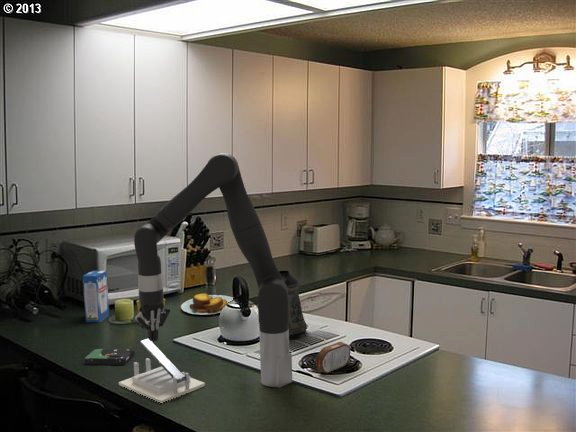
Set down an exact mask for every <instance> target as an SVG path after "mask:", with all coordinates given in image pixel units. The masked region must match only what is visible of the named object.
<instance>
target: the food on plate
mask: <svg viewBox="0 0 576 432" xmlns="http://www.w3.org/2000/svg"><path fill="white" fill-rule="evenodd" d="M192 297H193V298H190V299H188V300H186V301H184V302H183V303H181V305H180V309H181V310H182V311H183V312H185V313H188V314H192V315H215V314H219V313H222V312H221V310H222V308H223V307H224V306H225V305H226V304H227V303H228V302H230V301H232V300H233V298H234V297H232V296H228V295H223V294H222V295H221V294H219V295H217V294H208V293H206V292H205V293H204V292H203V293H199V294H198V293H197V294H195V295H194V296H192Z"/></svg>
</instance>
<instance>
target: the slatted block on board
mask: <svg viewBox="0 0 576 432" xmlns="http://www.w3.org/2000/svg"><path fill="white" fill-rule="evenodd" d="M151 364H152V362H151V358H148V357H147V358H145V372H143V373H140V364H139V362H137V361H135V362H133V371H134V373H133V375H134V376H132V377H130V378H126V379H124V380H121V381H118V386H119V387H122V388H124V387H125V388H124V389H126V388H127V389H126V390H129V391H131V390H132V391H131V392H133V391H134V392H133V393H135V392H136V393H135V394H137V395H140V394H141V395H140V396H142V395H143V396H142V397H144V396H146V397H145V398H147V397H148V398H147V399H149V398H150V399H149V400H151V399H153V400H155V401H154V402H156V401H157V402H156V403H158V402H160V403H162V404H164V403H163V402H165V401H167V402H169V401H171V399H172V400H174V399H176V397H177V398H180V397H182V396H184V395H186V393H187V394H189V393H191V392H193V391H196V390H200V389H201V388H204V387H205V386H206V383H205V382H204V381H201V380H198V379H195V378H193V377H191V375H190V374H189V372H185V371H182V372H181V373H182V374H183V375H184V376H185V377H186V380H185V381H182V382H180V383H177V378H175V377H174V378H172V377H171V376H170V375H169V374H168V373H167V372H166V371H165V370H164V368H163V367H162V366H161V365H160V366H159V367H157V368H154V369H152V365H151ZM181 395H182V396H181ZM173 398H174V399H173ZM153 400H152V401H153ZM168 400H169V401H168ZM160 403H159V404H160ZM165 403H166V402H165Z"/></svg>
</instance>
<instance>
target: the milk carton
mask: <svg viewBox="0 0 576 432" xmlns="http://www.w3.org/2000/svg"><path fill="white" fill-rule="evenodd" d="M107 276H108V274H107V270H92V271H89V272H87V273H86V274H83V275H82V283H83V284H82V285H83V298H84V299H83V300H84V311H85V313H84V314H85V323H101V322H102V321H104V320H105V319H107V318H108V317H109V316H110V303H109V288H108V277H107Z"/></svg>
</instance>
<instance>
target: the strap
mask: <svg viewBox="0 0 576 432" xmlns="http://www.w3.org/2000/svg"><path fill="white" fill-rule="evenodd" d="M139 344H140V345H141V346H142V347H143V348H144V350H146V351H147V353H149V355H151V357H152V358H153V359H154V360H155V361H156V362H157V363H158V364H159V366H160V367H161V366H162V367H163V368H164V370H165V371H166V372H167V373H168V374H169V375H170V376H171V377H172V378H174V377H175V378H177V383H180V382H182V381H185V380H186V377H185V376H184V375H183V374H182V372H181V371H180V370H179V369H178V368H177V367H176V366H175V365H174V364H173V362H171V360H170V359H169V358H167V356H166V355H165V354H164V353H163V352H162V351H161V350H160V349H159V347H157V346H156V345H155V344H154V342H151V341H150V340H149V339H148V338H145V339H143V340H140V342H139Z"/></svg>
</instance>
